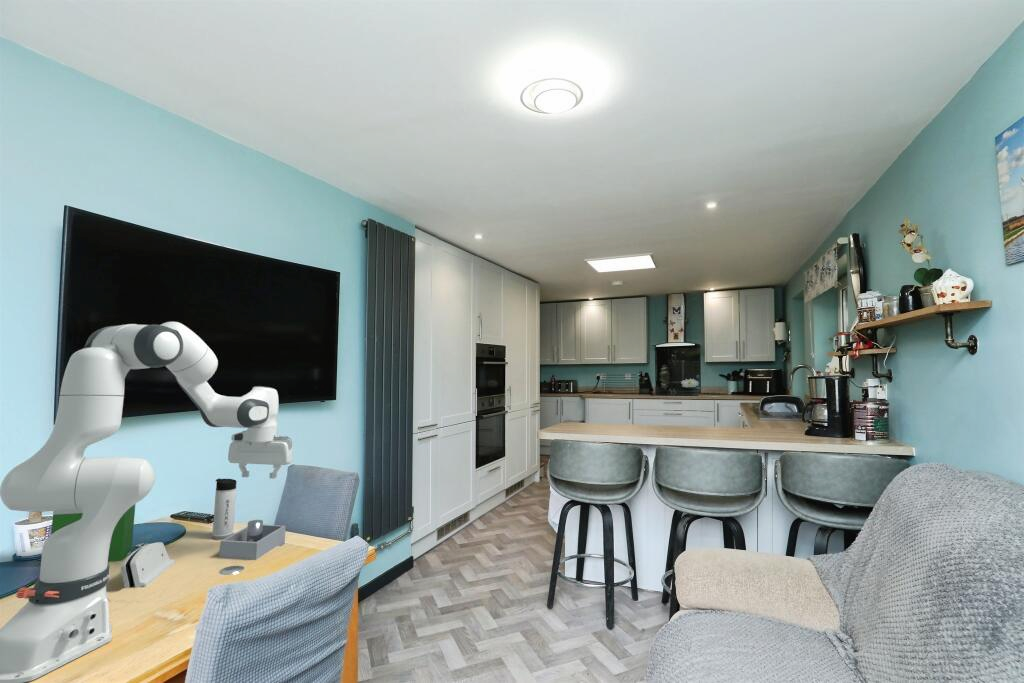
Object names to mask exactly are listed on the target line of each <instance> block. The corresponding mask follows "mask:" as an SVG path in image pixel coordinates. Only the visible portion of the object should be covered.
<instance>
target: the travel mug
mask: <svg viewBox="0 0 1024 683" xmlns="http://www.w3.org/2000/svg"><path fill="white" fill-rule="evenodd" d="M215 482H216V487H215V496H214V497H215V498H214V510H213V511H214V512H213V524H212V539H213V540H217V541H218V540H220V541H221V540H223V539H225V538H227V537H229V536H231V535H233V534H234V525H235V513H236V512H235V511H236V496H237V480H236V479H233V478H217V479H215Z"/></svg>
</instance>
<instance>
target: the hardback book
mask: <svg viewBox="0 0 1024 683" xmlns="http://www.w3.org/2000/svg"><path fill="white" fill-rule="evenodd" d="M82 515H83V510H82V509H71V510H59V511H52V522H51V532H50V535H51V534H53V533H54V532H56V531H58V530H59V529H61V528H63V527H65V526H67V525H69V524H72V523H74V522H76V521H78V520H80V519H81V518H82ZM135 515H136V504H134V505H133V506H132V507H131V508H129V509H128V510H127V511H126V512H125V513H124V515H123V516H122V517H121V518H120V520H119V521H118V523H117V524H116V526H115V528H114V531H113V533H112V537H111V542H110V548H109V555H108V563H111V562H112V563H114V562H122V561H124V560H125V559H126V558H127V557H128V556H127V554H128V553H129V552H130V551H131V550H132V549H133V539H134V538H133V536H134V526H135ZM132 551H133V550H132ZM132 551H131V552H132Z"/></svg>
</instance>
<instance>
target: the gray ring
mask: <svg viewBox="0 0 1024 683" xmlns="http://www.w3.org/2000/svg"><path fill="white" fill-rule="evenodd" d="M244 570H245V567H244V566H242V565H232V566H226V567H223V568H222V569H220V570H219V571H218V574H220V575H221V576H222V575H223V576H230V575H236V574H239V573H241V572H243V571H244Z"/></svg>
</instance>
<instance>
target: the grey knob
mask: <svg viewBox="0 0 1024 683" xmlns="http://www.w3.org/2000/svg"><path fill="white" fill-rule="evenodd" d="M263 525H264V521H263V519H253V520H248V522H247V542H257V541H259V540H261V539H262V529H263Z"/></svg>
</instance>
